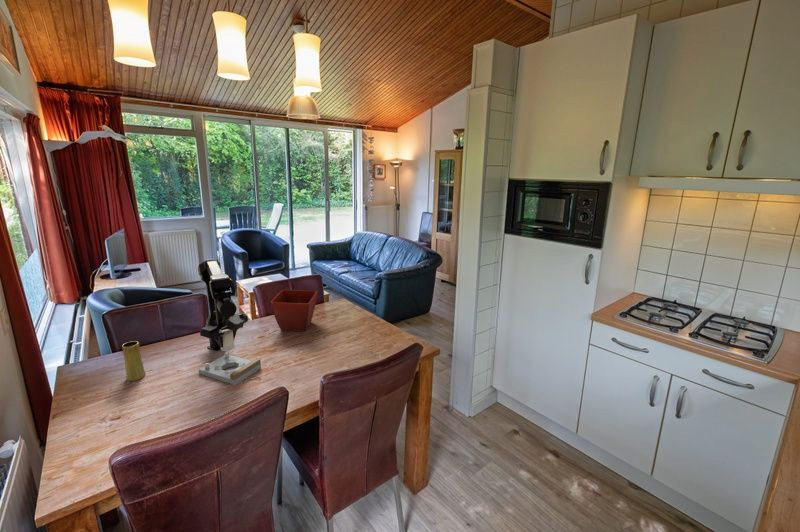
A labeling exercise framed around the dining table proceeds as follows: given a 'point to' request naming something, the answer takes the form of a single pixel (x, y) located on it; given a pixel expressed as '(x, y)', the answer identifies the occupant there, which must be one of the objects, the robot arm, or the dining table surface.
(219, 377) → the jig
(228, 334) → the bushing
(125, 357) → the vase
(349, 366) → the dining table surface
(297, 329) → the plant pot
